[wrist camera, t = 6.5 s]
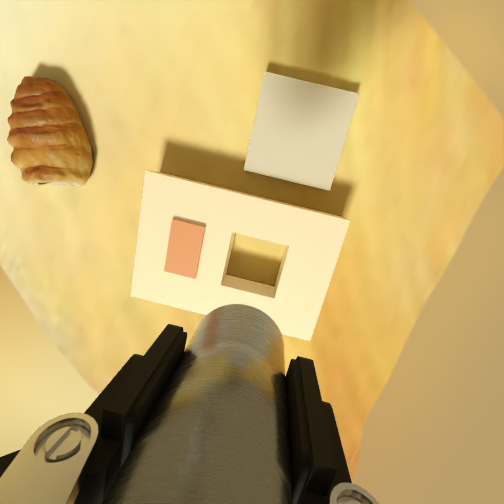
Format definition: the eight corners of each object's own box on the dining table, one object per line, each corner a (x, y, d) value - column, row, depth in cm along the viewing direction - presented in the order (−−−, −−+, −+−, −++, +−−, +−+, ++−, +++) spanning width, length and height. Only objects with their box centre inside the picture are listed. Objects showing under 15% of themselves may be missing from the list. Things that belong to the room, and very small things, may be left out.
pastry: (16, 85, 25) (-28, 68, 21) (84, 80, 24) (51, 61, 21) (40, 188, 27) (4, 188, 24) (103, 185, 27) (75, 185, 23)
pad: (265, 75, 23) (264, 71, 22) (355, 97, 23) (359, 93, 22) (244, 170, 25) (243, 169, 24) (327, 190, 25) (329, 190, 24)
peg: (203, 294, 11) (52, 524, 4) (293, 316, 11) (336, 601, 4) (188, 371, 12) (45, 679, 5) (271, 392, 12) (266, 742, 5)
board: (160, 172, 26) (143, 170, 22) (341, 216, 25) (351, 221, 22) (144, 284, 29) (128, 297, 26) (306, 325, 28) (310, 342, 25)
